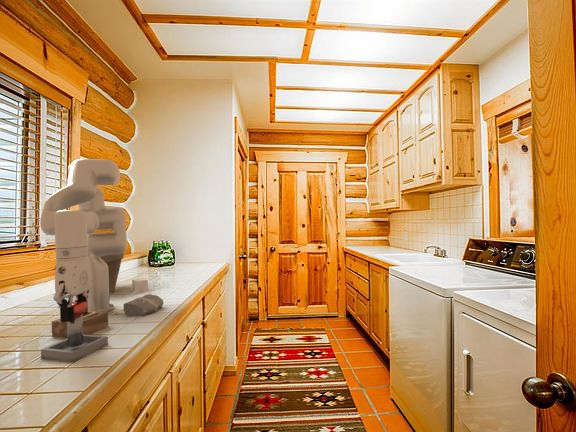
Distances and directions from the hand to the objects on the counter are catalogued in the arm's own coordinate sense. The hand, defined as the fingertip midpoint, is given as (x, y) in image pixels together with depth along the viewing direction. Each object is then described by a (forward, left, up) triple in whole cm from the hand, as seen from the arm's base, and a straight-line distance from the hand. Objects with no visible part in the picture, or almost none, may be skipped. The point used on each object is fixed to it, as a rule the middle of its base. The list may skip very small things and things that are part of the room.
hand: (74, 316), depth 87 cm
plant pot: (-54, +58, -10) cm, 80 cm away
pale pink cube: (-34, +65, -10) cm, 74 cm away
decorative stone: (-6, +35, -10) cm, 37 cm away
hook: (0, 0, -8) cm, 8 cm away
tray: (0, 0, -10) cm, 10 cm away
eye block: (-13, +13, -10) cm, 21 cm away
